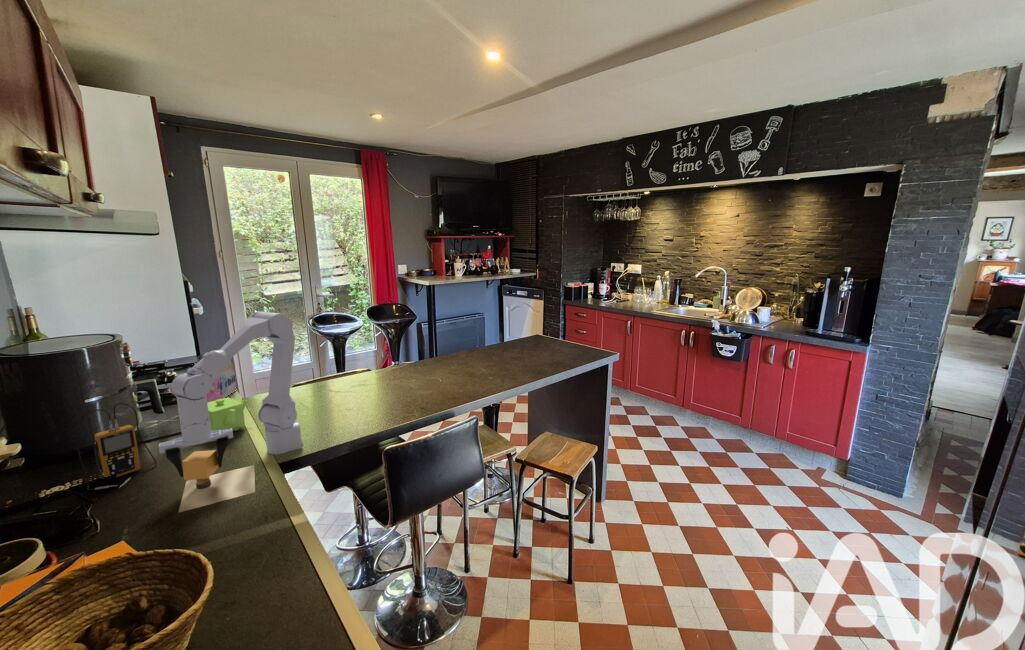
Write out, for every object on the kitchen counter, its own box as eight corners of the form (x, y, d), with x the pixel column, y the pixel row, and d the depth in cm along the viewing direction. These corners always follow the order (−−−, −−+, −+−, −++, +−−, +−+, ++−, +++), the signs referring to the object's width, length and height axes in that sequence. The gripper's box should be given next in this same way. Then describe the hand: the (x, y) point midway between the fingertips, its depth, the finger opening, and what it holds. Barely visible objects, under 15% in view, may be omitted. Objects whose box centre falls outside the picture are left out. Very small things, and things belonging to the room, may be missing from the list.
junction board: (254, 469, 112) (252, 452, 111) (255, 497, 100) (253, 477, 98) (187, 486, 104) (184, 467, 103) (179, 518, 91) (175, 497, 90)
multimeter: (93, 498, 98) (79, 423, 94) (82, 485, 103) (68, 413, 99) (168, 471, 110) (158, 404, 106) (154, 461, 115) (144, 396, 112)
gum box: (206, 411, 150) (202, 377, 148) (183, 412, 149) (178, 378, 146) (238, 390, 174) (234, 360, 171) (218, 390, 172) (214, 361, 170)
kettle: (238, 438, 130) (234, 406, 128) (187, 443, 126) (183, 410, 124) (255, 419, 144) (251, 390, 142) (210, 423, 140) (206, 393, 138)
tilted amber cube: (218, 467, 104) (216, 450, 103) (207, 478, 99) (205, 460, 98) (196, 468, 103) (194, 451, 102) (184, 480, 98) (181, 461, 97)
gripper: (229, 408, 106) (235, 455, 108) (157, 421, 97) (165, 472, 99) (231, 417, 100) (236, 466, 103) (154, 432, 91) (163, 485, 94)
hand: (201, 470), depth 101 cm, fingers closed on tilted amber cube, 7 cm apart
